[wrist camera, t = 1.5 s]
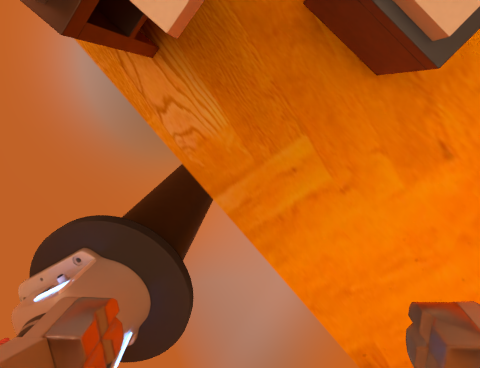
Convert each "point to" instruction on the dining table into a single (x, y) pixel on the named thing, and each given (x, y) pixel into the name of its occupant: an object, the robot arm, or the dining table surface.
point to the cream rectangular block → (169, 13)
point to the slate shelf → (400, 30)
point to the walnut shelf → (97, 22)
